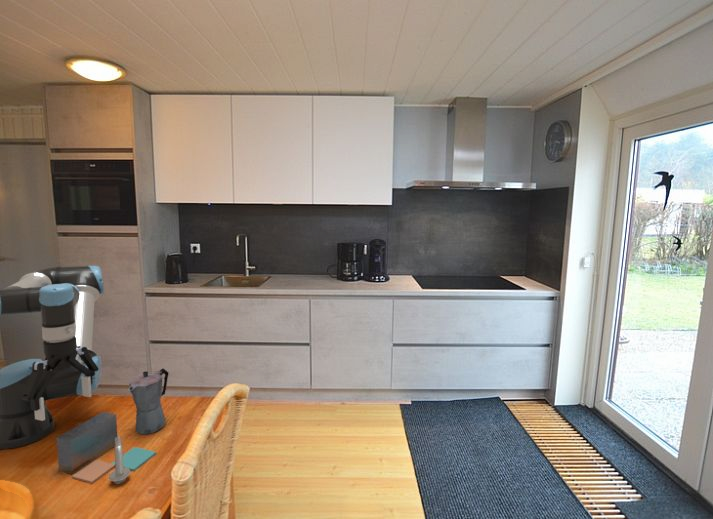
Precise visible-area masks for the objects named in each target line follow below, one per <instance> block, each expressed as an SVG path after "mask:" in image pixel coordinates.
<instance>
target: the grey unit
mask: <svg viewBox="0 0 713 519" xmlns="http://www.w3.org/2000/svg"><path fill="white" fill-rule="evenodd" d="M117 422H118V421H117V413H111V412H108V411H102V412H100V413H98V414H96V415H94V416H93V417H91V418H89V419H87V420H86V421H84V422H82V423H80V424H78V425H77V426H75V427H73V428H71V429H70V430H67V431H65V432H64V433H62V434H60V435H59V436H57V437H56V448H57V450H56V451H57V461H58V462H57V463H58V471H59V472H61V473H65V474H69V475H72V476H73V475H74V474H76V473H77V472H79V471H80V470H82V469H83V468H84V467H86V466H87V465H89V464H90V463H92V462H93V461H95V460H98V459H99V458H100V457H101V456H103V455H104V454H106V453H107V452H109V451H111V450H112V449H113V448H114V447H115V438H116V437H117V436H118V424H117Z"/></svg>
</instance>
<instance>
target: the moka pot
mask: <svg viewBox="0 0 713 519" xmlns="http://www.w3.org/2000/svg"><path fill="white" fill-rule="evenodd" d="M163 375H164V377H163ZM168 378H169V371H167V370H166V369H164V368H161V369H160V370H157V371H156V372H154V373H152V372H151V373H149V372H148V371H147V370H146V371H143V372H142V374H141V375H138V376H136V377H134V378H133V379H131V381H130V382H129V387H128V388H127V391H128V392H130V393H131V396H132V399H133V404H135V408H136V415H135V417H136V418H135V432H136V433H137V434H140V435H150V434H153V433H156V432H158V431H160V430H161V429H162V428H163V427H165V426H166V417H165V414H164V410H163V406H162V405H163V404H162V403H161V402H162V401H161V399H162V396H164V395H165V394H166V390H167V385H168ZM163 380H164V381H163Z"/></svg>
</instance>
